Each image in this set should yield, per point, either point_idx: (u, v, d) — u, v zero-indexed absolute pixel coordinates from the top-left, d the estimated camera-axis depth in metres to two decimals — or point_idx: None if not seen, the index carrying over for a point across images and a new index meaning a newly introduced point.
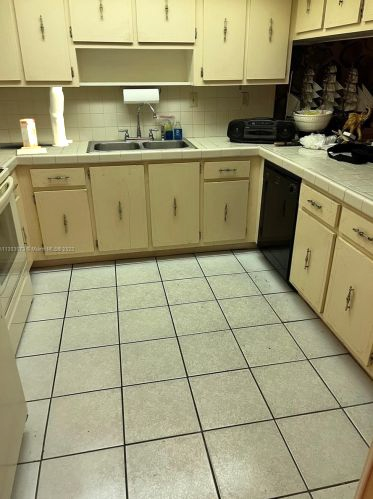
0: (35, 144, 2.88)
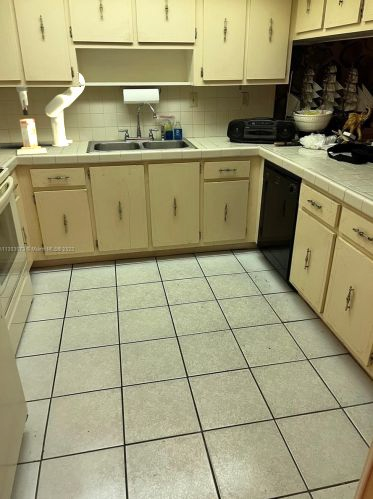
0: (35, 144, 2.88)
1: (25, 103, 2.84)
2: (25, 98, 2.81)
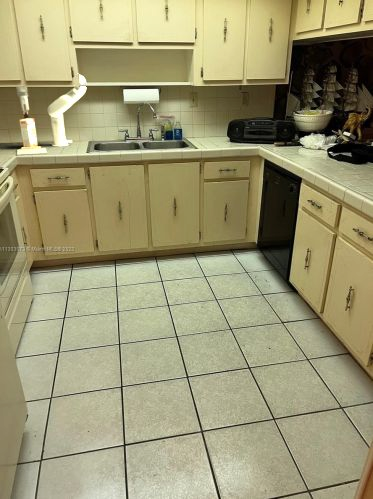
0: (35, 144, 2.88)
1: None
2: (26, 102, 2.77)
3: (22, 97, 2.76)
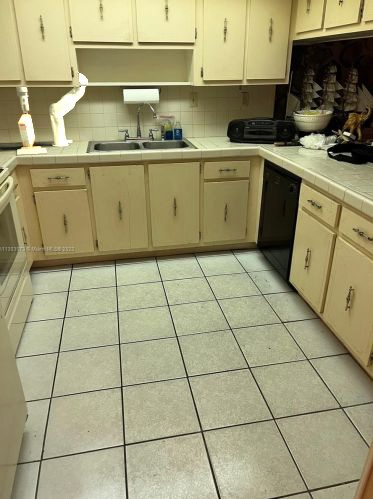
0: (33, 140, 2.86)
1: None
2: (26, 103, 2.72)
3: (22, 97, 2.70)
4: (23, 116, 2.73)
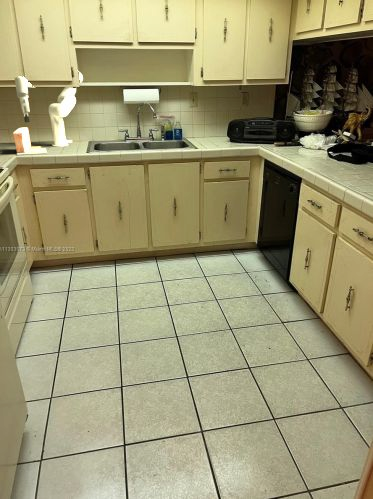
0: (28, 134, 2.76)
1: None
2: (26, 104, 2.63)
3: (22, 98, 2.61)
4: (16, 138, 2.58)
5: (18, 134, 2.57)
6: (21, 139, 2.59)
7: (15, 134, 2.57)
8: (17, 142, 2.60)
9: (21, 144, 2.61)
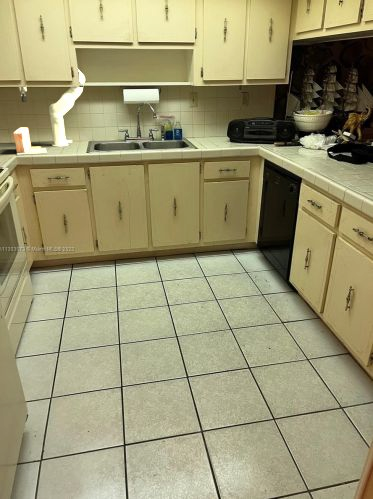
0: (28, 134, 2.76)
1: None
2: None
3: None
4: (16, 138, 2.58)
5: (18, 134, 2.57)
6: (21, 139, 2.59)
7: (15, 134, 2.57)
8: (17, 142, 2.60)
9: (21, 144, 2.61)
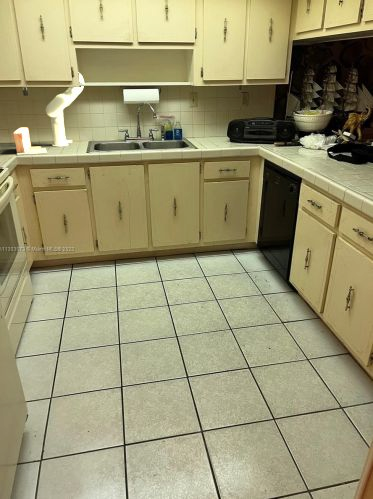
0: (28, 134, 2.76)
1: None
2: None
3: None
4: (16, 138, 2.58)
5: (18, 134, 2.57)
6: (21, 139, 2.59)
7: (15, 134, 2.57)
8: (17, 142, 2.60)
9: (21, 144, 2.61)
